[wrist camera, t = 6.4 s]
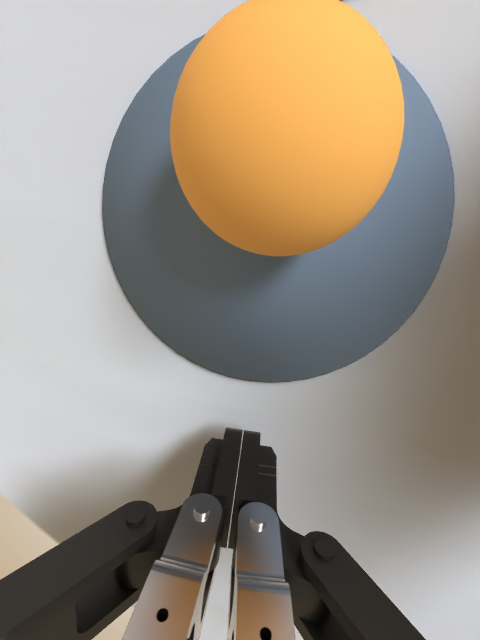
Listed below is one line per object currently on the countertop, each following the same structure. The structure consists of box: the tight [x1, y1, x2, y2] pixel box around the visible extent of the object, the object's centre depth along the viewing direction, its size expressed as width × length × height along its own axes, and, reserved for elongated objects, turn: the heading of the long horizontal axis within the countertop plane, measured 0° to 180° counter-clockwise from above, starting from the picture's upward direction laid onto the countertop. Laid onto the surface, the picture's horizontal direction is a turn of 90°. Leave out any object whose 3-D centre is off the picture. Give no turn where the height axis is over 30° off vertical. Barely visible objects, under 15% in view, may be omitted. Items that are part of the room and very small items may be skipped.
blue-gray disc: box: [102, 34, 454, 382], centre depth 13 cm, size 13×13×1 cm
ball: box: [170, 0, 404, 256], centre depth 9 cm, size 6×6×6 cm
